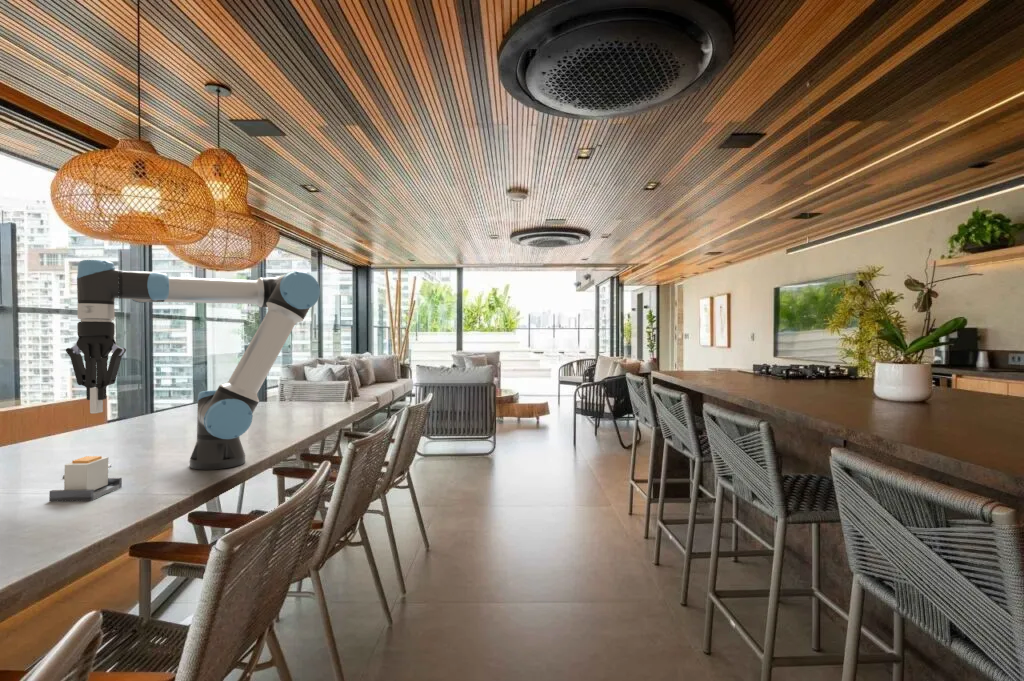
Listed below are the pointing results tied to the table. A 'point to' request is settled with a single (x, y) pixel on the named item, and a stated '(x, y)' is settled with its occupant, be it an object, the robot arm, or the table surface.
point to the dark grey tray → (85, 492)
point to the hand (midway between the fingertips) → (96, 412)
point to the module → (86, 473)
